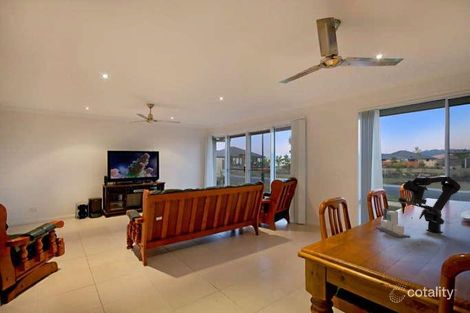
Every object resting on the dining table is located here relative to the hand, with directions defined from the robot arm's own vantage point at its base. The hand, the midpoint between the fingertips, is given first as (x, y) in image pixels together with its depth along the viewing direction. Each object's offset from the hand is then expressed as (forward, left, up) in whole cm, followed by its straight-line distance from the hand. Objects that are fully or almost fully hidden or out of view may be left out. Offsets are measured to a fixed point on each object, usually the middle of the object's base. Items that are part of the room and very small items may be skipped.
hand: (411, 216), depth 156 cm
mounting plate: (+11, -3, -11) cm, 16 cm away
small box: (-5, -22, -12) cm, 26 cm away
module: (+11, -4, -9) cm, 15 cm away
